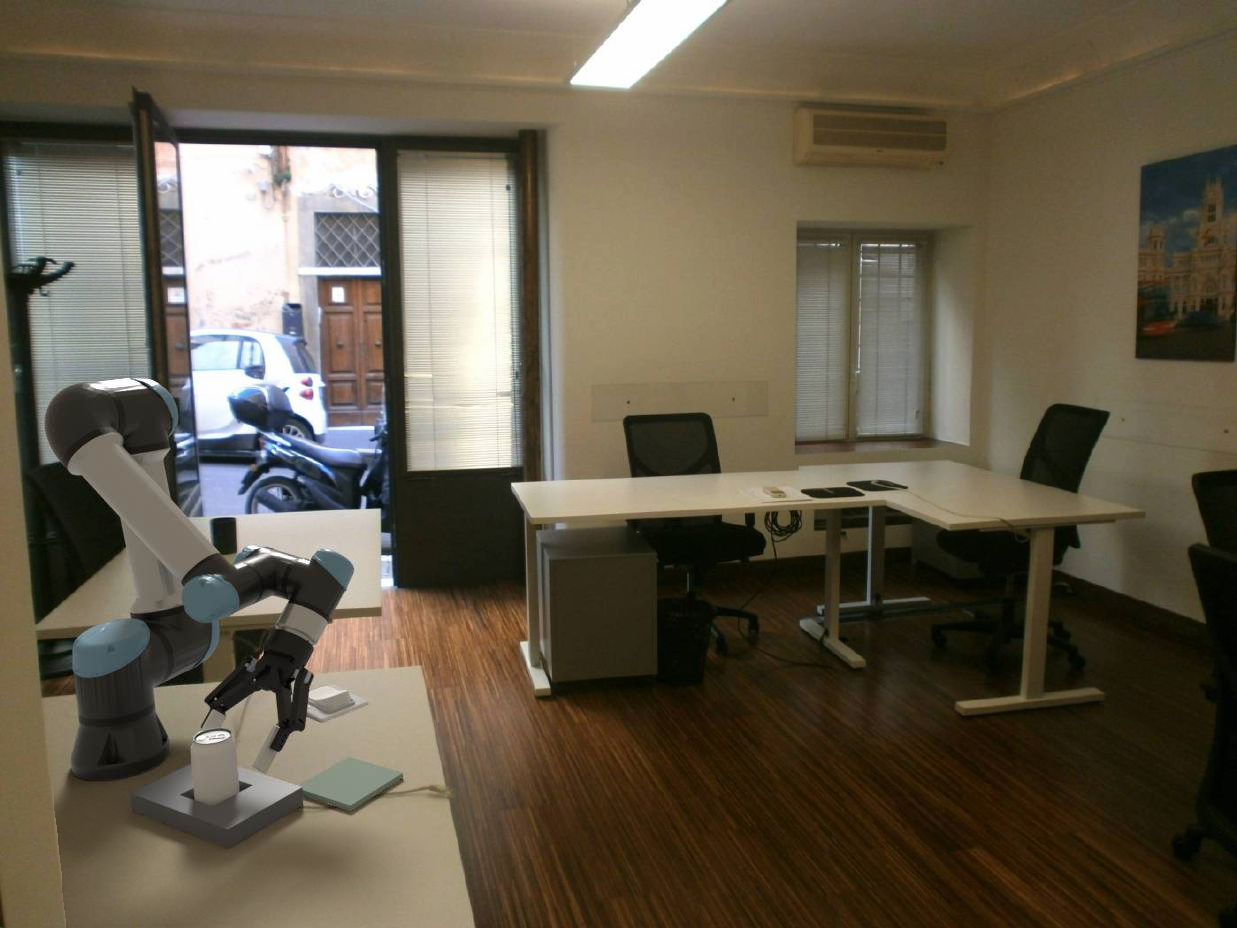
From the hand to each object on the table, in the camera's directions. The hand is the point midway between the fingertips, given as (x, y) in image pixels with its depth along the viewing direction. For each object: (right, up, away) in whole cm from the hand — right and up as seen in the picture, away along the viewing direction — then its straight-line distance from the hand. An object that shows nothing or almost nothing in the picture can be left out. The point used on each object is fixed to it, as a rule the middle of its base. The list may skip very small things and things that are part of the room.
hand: (227, 760), depth 149 cm
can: (-2, -8, +1) cm, 8 cm away
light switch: (+4, -2, +40) cm, 40 cm away
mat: (+17, -6, +8) cm, 19 cm away
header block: (-2, -8, +1) cm, 8 cm away
